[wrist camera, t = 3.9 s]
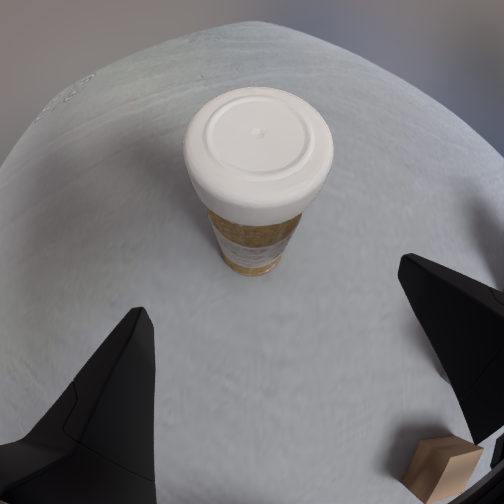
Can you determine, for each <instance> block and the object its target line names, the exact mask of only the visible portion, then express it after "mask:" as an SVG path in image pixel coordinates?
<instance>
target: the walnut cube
mask: <svg viewBox="0 0 504 504" xmlns="http://www.w3.org/2000/svg"><path fill="white" fill-rule="evenodd" d="M483 450H484V448H482V447H480V446H478V445H476V446H475V444H473V443H471V442H468V441H466V440H464V439H462V438H459V437H457V436H455V435H453V436H447V437H440V438H433V439H424V440H420V442H419V444H418V447H417V449H416V451H415V454H414V456H413V458H412V460H411V463H410V465H409V467H408V469H407V471H406V473H405V475H404V477H403V479H402V481H401V483H402V484H403V485H404V486H405V487H406V488H407V489H408V490H409V491H411V492H412V493H413V494H414V495H415V496H416V497H417V498H418V499H419V500H421V501H422V502H423V503H424V504H430V503H433V502H436V501H440V500H443V499H446V498H449V497H452V496H454V495H457V494H460V493H462V491H463V490H464V488H465V486H466V484H467V483H468V481H469V479H470V477H471V475H472V473H473V471H474V469H475V467H476V465H477V463H478V461H479V459H480V457H481V454H482V452H483Z"/></svg>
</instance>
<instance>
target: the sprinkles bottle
mask: <svg viewBox="0 0 504 504" xmlns="http://www.w3.org/2000/svg"><path fill="white" fill-rule="evenodd" d="M183 156H184V161H185V164H186V168H187V171H188V174H189V177H190V179H191V182H192V184H193V187H194V189H195V191H196V193H197V195H198V197H199V198H200V200H201V201H202V202H203V203H204V204H205V205H206V207H207V214H208V217H209V220H210V222H211V225H212V228H213V230H214V233H215V235H216V238H217V240H218V243H219V246H220V248H221V251H222V255H223V257H224V259H225V262H226V263H227V265H228V266H230V267H231V268H232V269H233V270H234V271H236V272H237V273H239V274H242V275H245V276H258V275H262V274H264V273H267V272H268V271H270V270H271V269H272V268H273V267H274V266H275V265H276V264H277V263H278V261H279V260H280V258H281V254H282V252H283V251H284V249H285V248H286V246H287V244H288V242H289V240H290V238H291V236H292V234H293V233H294V231H295V229H296V227H297V225H298V223H299V221H300V219H301V216H302V213H303V211H304V210H306V209H307V208H308V207H309V206H310V205H311V203H312V202H313V201H314V200H315V198H316V196H317V195H318V193H319V191H320V189H321V187H322V185H323V184H324V182H325V179H326V177H327V175H328V172H329V170H330V167H331V164H332V160H333V141H332V136H331V133H330V130H329V128H328V126H327V124H326V123H325V121H324V119H323V118H322V117H321V115H320V114H319V113H318V112H317V111H316V110H315V109H314V108H313V107H312V106H311V105H310V104H308V103H307V102H305V101H304V100H302V99H301V98H299V97H297V96H295V95H293V94H290V93H288V92H285V91H282V90H279V89H274V88H268V87H246V88H239V89H234V90H231V91H228V92H225V93H223V94H220V95H218V96H216V97H215V98H213V99H211V100H210V101H208V102H207V103H206V104H204V105H203V106H202V107H201V108H200V109H199V110H198V111H197V112H196V113H195V115H194V116H193V117H192V119H191V120H190V122H189V124H188V126H187V128H186V131H185V135H184V139H183Z"/></svg>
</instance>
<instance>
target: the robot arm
mask: <svg viewBox="0 0 504 504" xmlns="http://www.w3.org/2000/svg"><path fill="white" fill-rule="evenodd" d="M398 279H399V281H400V283H401V286H402V288H403V290H404V292H405V294H406V296H407V298H408V300H409V303H410V305H411V307H412V309H413V311H414V313H415V315H416V317H417V319H418V320H419V322H420V324H421V326H422V328H423V329H424V331H425V333H426V335H427V337H428V339H429V341H430V342H431V344H432V346H433V348H434V350H435V352H436V354H437V356H438V358H439V360H440V362H441V364H442V366H443V368H444V370H445V373H446V375H447V377H448V379H449V381H450V383H451V386H452V388H453V390H454V392H455V395H456V397H457V399H458V401H459V405H460V407H461V409H462V412H463V414H464V417H465V420H466V422H467V425H468V428H469V430H470V433H471V436H472V439H473V442H474V444H475V446H476V445H478V444H479V443H481V442H482V441H483V440H485V439H486V438H488V437H489V436H490V435H492V434H493V433H494V432H496V431H497V430H498V429H500V428H501V427H502V426H503V425H504V293H502V292H500V291H498V290H496V289H494V288H492V287H489V286H487V285H485V284H483V283H481V282H479V281H476V280H474V279H472V278H470V277H468V276H465V275H463V274H461V273H459V272H456V271H454V270H452V269H449V268H447V267H445V266H442V265H440V264H438V263H435V262H433V261H431V260H428V259H426V258H423V257H421V256H418V255H416V254H413V253H409V254H405V255H403V256H402V257H401V261H400V265H399V270H398ZM155 370H156V369H155V346H154V327H153V324H152V322H151V320H150V318H149V316H148V314H147V312H146V310H145V308H144V307H135V308H132V309H131V310H130V311H129V312H128V313H127V314H126V315H125V316H124V318H123V319H122V320H121V321H120V322H119V324H118V325H117V326H116V327H115V328H114V329H113V331H112V332H111V333H110V334H109V335H108V337H107V338H106V339H105V340H104V342H103V343H102V344H101V345H100V346H99V348H98V349H97V350H96V351H95V353H94V354H93V355H92V356H91V358H90V359H89V360H88V361H87V363H86V364H85V365H84V366H83V368H82V369H81V370H80V371H79V373H78V374H77V375H76V377H75V378H74V379H73V381H72V382H71V383H70V384H69V386H68V387H67V388H66V390H65V391H64V392H63V393H62V395H61V396H60V397H59V398H58V400H57V401H56V402H55V403H54V404H53V406H52V407H51V408H50V409H49V410H48V411H47V413H46V414H45V415H44V416H43V417H42V418H41V419H40V421H39V422H38V423H37V424H36V425H35V426H34V427H33V429H32V430H31V431H30V432H29V433H28V434H27V435H26V436H25V437H24V438H22V439H20V440H18V441H16V442H12V443H8V444H4V445H0V504H157V502H156V488H155V483H154V482H155V472H154V393H155ZM490 467H491V469H492V470H491V471H490V472H489V473H488V474H487V475H485V476H484V477H483V478H482V479H481V480H479V481H478V482H477V483H475V484H474V485H473V486H472V487H470V488H469V489H468V490H466V491H465V492H464V493H462V494H461V495H459V496H458V497H457V498H455V499H454V500H452V501H451V502H449V503H448V504H504V433H503V434H502V435H501V436H500V437H499V438H497V439H496V444H495V448H494V453H493V457H492V460H491V464H490Z"/></svg>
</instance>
